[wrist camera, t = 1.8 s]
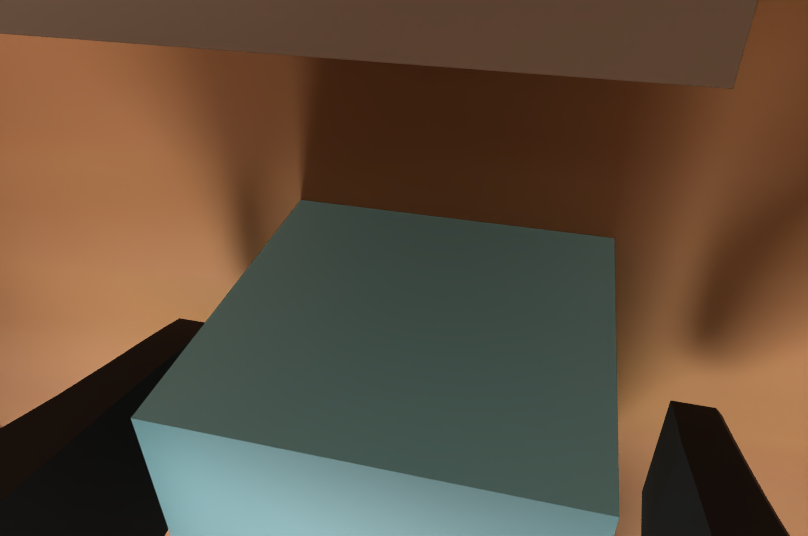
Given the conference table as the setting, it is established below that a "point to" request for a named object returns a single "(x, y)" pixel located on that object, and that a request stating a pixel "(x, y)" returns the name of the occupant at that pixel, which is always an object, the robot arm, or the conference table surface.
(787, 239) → the conference table surface
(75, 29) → the walnut block
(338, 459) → the teal block
